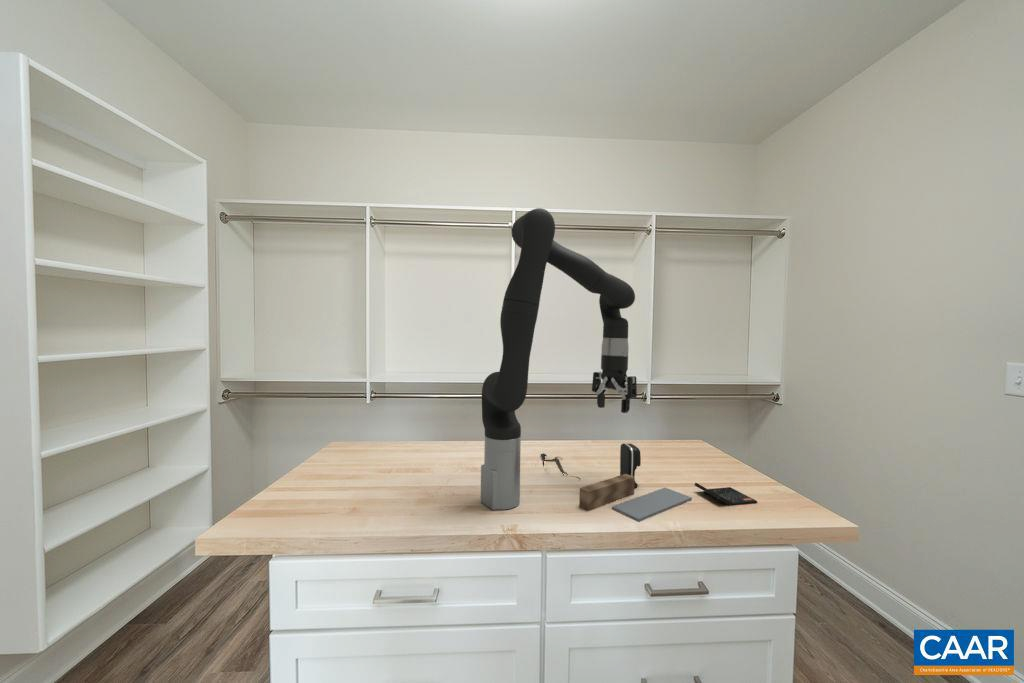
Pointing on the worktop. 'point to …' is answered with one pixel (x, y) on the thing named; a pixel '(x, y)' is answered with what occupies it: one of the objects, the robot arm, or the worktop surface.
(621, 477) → the wooden block
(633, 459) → the black striped rounded block
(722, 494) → the calculator
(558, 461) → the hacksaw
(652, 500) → the mat
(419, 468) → the worktop surface
